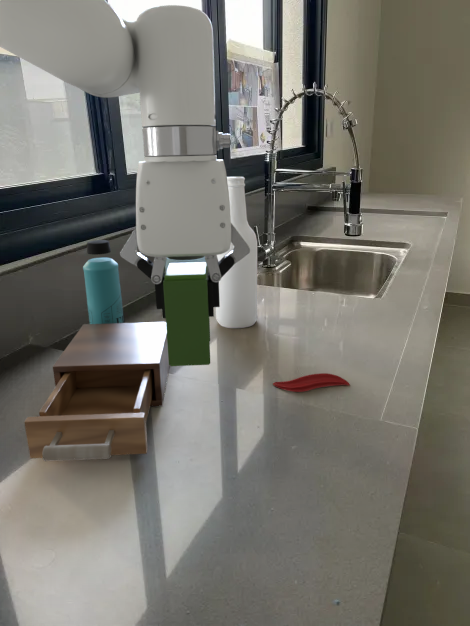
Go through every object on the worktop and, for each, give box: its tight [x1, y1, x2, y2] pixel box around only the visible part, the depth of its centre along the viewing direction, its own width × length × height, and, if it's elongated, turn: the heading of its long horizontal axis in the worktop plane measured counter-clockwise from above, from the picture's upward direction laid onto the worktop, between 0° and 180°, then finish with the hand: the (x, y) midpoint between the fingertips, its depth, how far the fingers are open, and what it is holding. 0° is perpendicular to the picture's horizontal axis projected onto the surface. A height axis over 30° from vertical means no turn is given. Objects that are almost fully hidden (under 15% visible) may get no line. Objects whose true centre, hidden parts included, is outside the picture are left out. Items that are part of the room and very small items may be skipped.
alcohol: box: [215, 176, 258, 329], centre depth 101 cm, size 9×9×30 cm
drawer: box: [23, 369, 154, 462], centre depth 63 cm, size 21×14×5 cm, turn 3°
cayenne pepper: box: [272, 372, 351, 393], centre depth 77 cm, size 12×5×2 cm, turn 82°
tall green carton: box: [163, 262, 211, 367], centre depth 57 cm, size 5×8×10 cm, turn 3°
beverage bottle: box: [82, 239, 126, 324], centre depth 92 cm, size 6×7×20 cm
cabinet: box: [52, 321, 171, 408], centre depth 79 cm, size 18×15×7 cm
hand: (188, 312), depth 57 cm, fingers closed on tall green carton, 4 cm apart
